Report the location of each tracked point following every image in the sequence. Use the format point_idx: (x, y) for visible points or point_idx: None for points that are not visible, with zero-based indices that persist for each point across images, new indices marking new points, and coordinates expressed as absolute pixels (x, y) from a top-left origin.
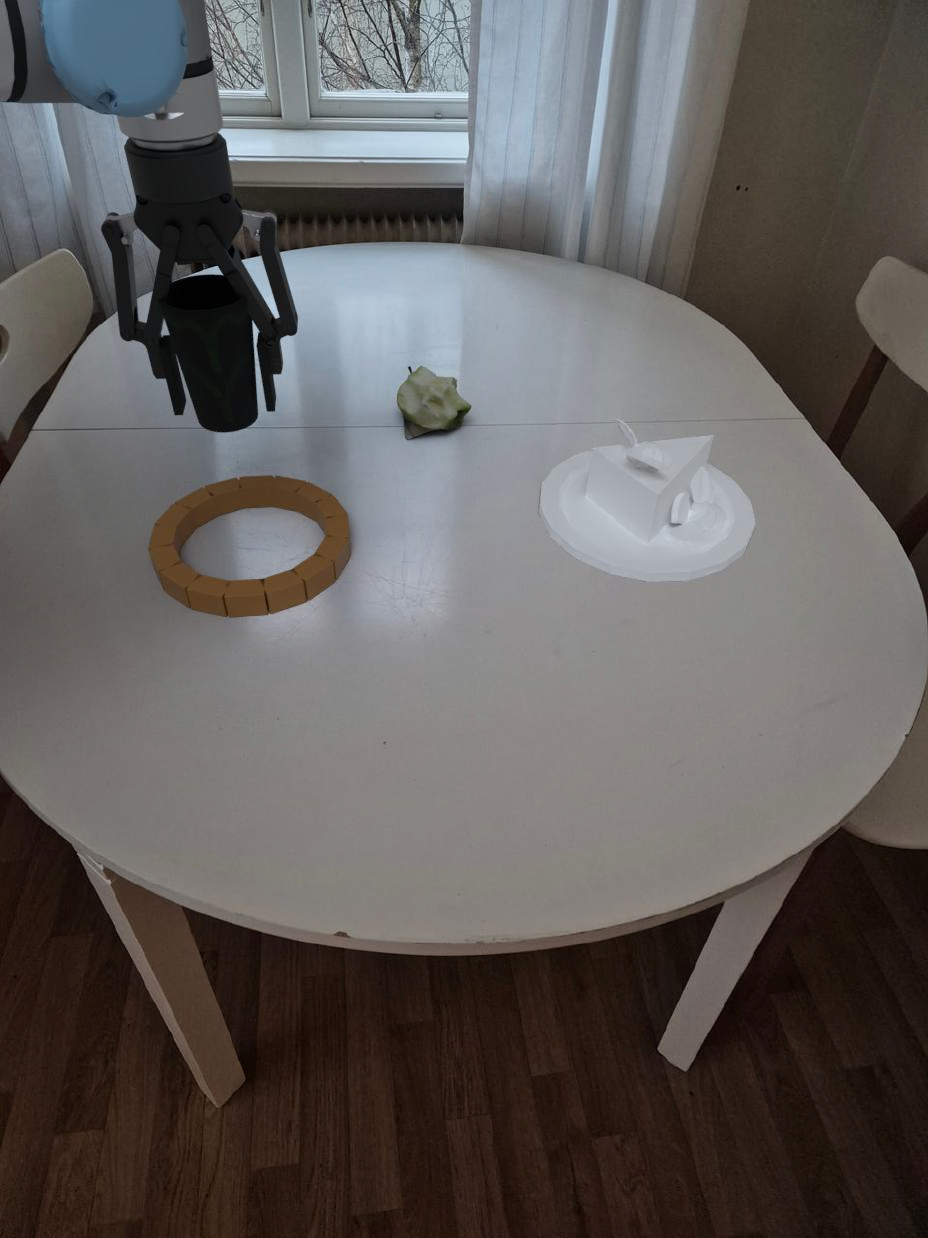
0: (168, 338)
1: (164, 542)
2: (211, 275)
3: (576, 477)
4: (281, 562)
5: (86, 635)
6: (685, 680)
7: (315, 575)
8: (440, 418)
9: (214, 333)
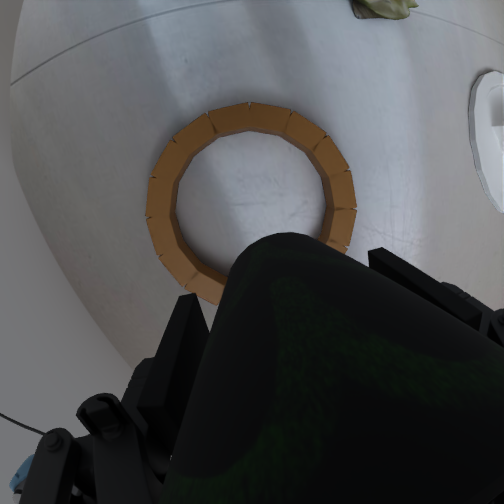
0: (167, 422)
1: (168, 245)
2: (485, 499)
3: (485, 100)
4: (283, 220)
5: (152, 330)
6: (501, 291)
7: None
8: (395, 12)
9: None
